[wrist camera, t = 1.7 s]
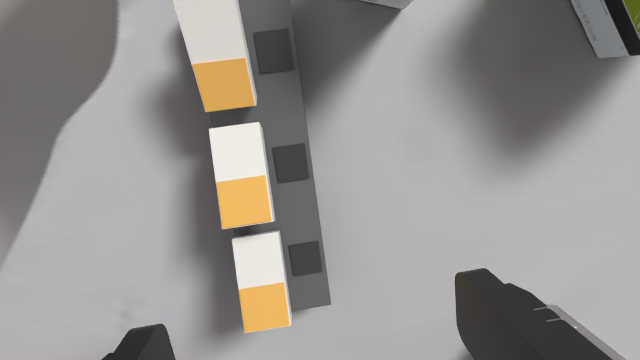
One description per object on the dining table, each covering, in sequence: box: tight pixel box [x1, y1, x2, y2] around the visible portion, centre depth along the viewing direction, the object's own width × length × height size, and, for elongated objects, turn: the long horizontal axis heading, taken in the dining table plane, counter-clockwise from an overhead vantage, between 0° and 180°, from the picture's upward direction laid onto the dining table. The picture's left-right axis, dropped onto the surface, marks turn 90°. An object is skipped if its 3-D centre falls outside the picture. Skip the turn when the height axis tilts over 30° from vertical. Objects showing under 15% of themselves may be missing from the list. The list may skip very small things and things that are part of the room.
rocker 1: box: [173, 0, 257, 112], centre depth 25 cm, size 4×8×2 cm, turn 7°
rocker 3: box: [232, 230, 292, 333], centre depth 30 cm, size 4×8×2 cm, turn 7°
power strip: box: [210, 0, 331, 311], centre depth 32 cm, size 8×30×5 cm, turn 7°
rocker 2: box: [209, 122, 275, 229], centre depth 28 cm, size 4×8×2 cm, turn 7°
